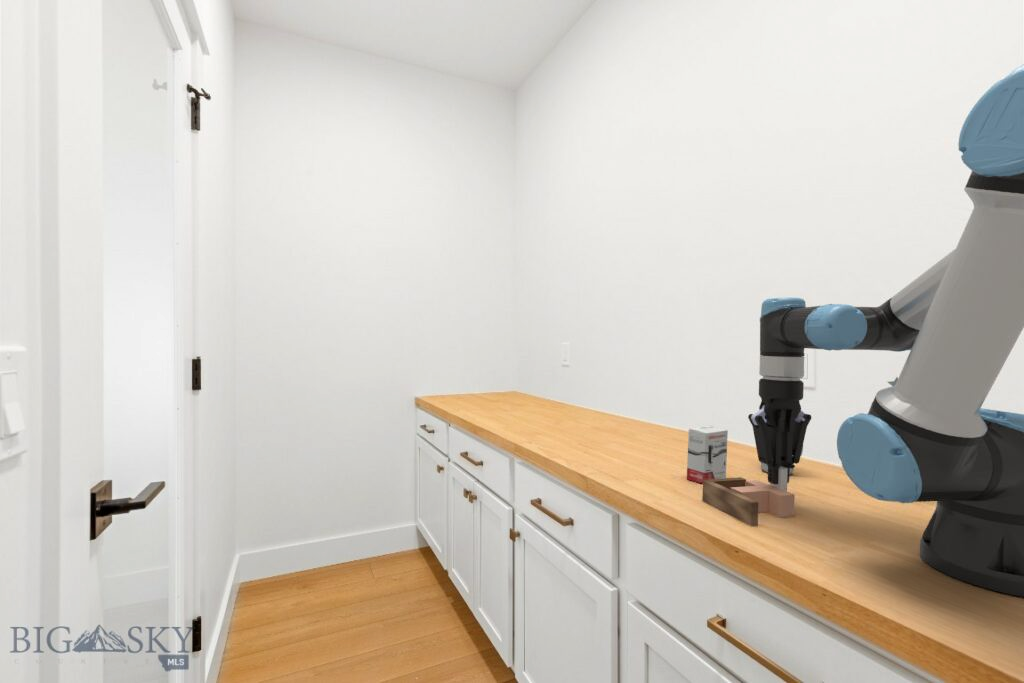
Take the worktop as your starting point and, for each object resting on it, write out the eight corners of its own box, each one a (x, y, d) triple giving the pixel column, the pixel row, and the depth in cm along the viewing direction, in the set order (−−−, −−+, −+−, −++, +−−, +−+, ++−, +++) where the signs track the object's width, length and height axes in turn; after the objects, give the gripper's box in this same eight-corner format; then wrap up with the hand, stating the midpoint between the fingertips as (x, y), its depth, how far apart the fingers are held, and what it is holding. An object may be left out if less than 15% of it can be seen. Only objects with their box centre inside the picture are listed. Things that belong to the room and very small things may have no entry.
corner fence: (794, 521, 85) (795, 499, 85) (750, 525, 83) (751, 502, 83) (740, 496, 98) (740, 477, 98) (700, 499, 96) (701, 479, 96)
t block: (794, 516, 88) (794, 494, 88) (753, 520, 85) (753, 497, 85) (757, 499, 96) (757, 480, 96) (719, 503, 94) (719, 482, 94)
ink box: (704, 485, 106) (706, 432, 106) (685, 479, 110) (687, 428, 110) (727, 479, 110) (728, 428, 110) (708, 474, 115) (709, 425, 114)
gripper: (792, 376, 97) (789, 491, 98) (738, 376, 94) (735, 495, 94) (825, 380, 90) (821, 504, 90) (768, 380, 87) (765, 509, 87)
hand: (777, 499), depth 92 cm, fingers closed
